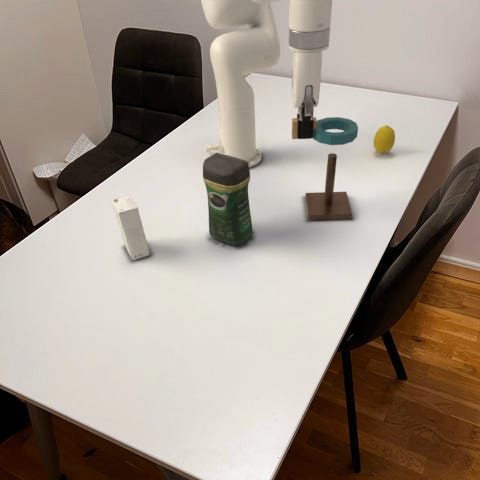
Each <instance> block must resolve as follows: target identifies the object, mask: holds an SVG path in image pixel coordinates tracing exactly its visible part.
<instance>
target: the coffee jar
mask: <svg viewBox="0 0 480 480" xmlns="http://www.w3.org/2000/svg"><path fill="white" fill-rule="evenodd" d="M202 180H203V183H204V185H205V189H206V195H207V207H208V232H209V235H210V237H211V238H212V239H214V240H216V241H218V242H220V243H223V244H226V245H229V246H232V247H233V246H234V247H235V246H238V245H241V244H244V243H246V242H247V241H248V240H249V239H250V238H251V237H252V236H253V231H254V230H253V221H252V215H251V207H250V199H249V183H250V181H251V170H250V168H249V165H248V162H247V161H245V160H242V159H239V158H236V157H232V156H228V155H224V154H219V153H215V154H213V155H209V156H208V157H207V158H205V159H204V161H203V164H202Z"/></svg>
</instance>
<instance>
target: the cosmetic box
mask: <svg viewBox="0 0 480 480" xmlns="http://www.w3.org/2000/svg"><path fill="white" fill-rule="evenodd" d="M111 204H112V209H113V211H114V214H115V218H116V221H117V224H118V228H119V230H120V233H121V237H122V240H123V244H124V247H125V249H126V250H127V253H128V254H129V256H130V258H131V260H132V261H135V260H140V259H143V258H146V257H148V256H151V255H150V254H151V252H150V249H149V245H148V241H147V237H146V235H145V234H146V233H145V229H144V225H143V222H142V218H141V216H140V211H139V207H138V206H137V205H136V203H135V201H134V200H133V199H132V197H131V195H125V196H122V197H119V198H115V199H112V200H111Z"/></svg>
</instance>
